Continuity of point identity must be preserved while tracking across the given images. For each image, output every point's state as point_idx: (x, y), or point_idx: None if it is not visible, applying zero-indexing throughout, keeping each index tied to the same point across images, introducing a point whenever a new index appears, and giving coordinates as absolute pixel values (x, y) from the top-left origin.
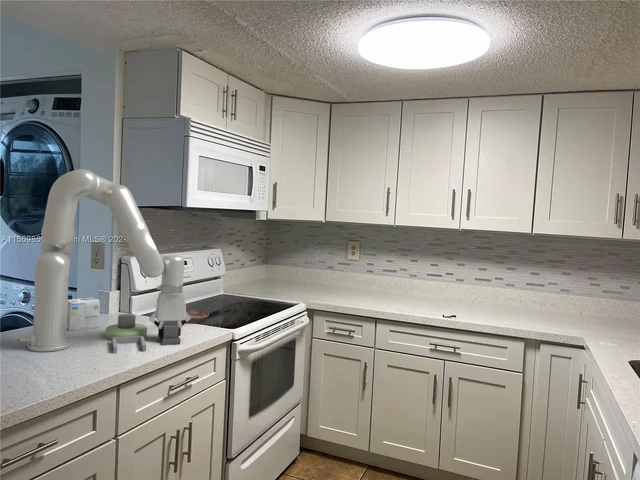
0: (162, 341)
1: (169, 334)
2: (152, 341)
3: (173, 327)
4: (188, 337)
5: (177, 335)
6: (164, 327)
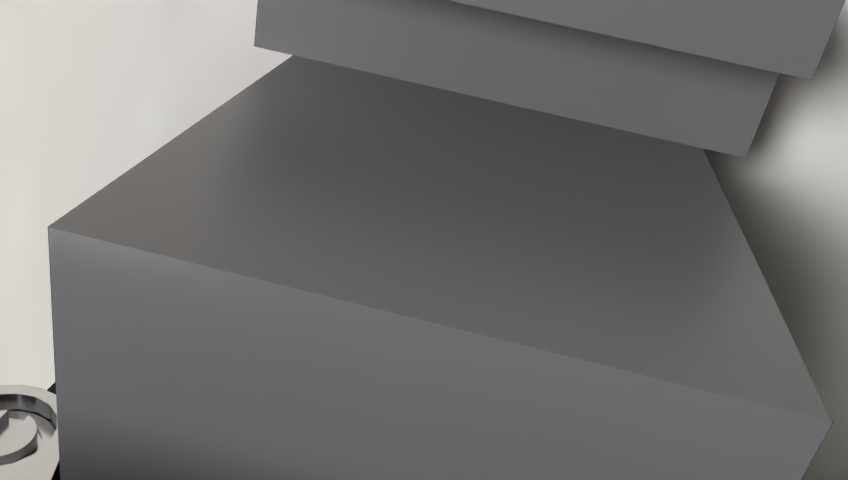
0: (762, 104)
1: (535, 182)
2: (835, 396)
3: (335, 278)
4: (9, 329)
5: (268, 95)
6: (815, 406)
